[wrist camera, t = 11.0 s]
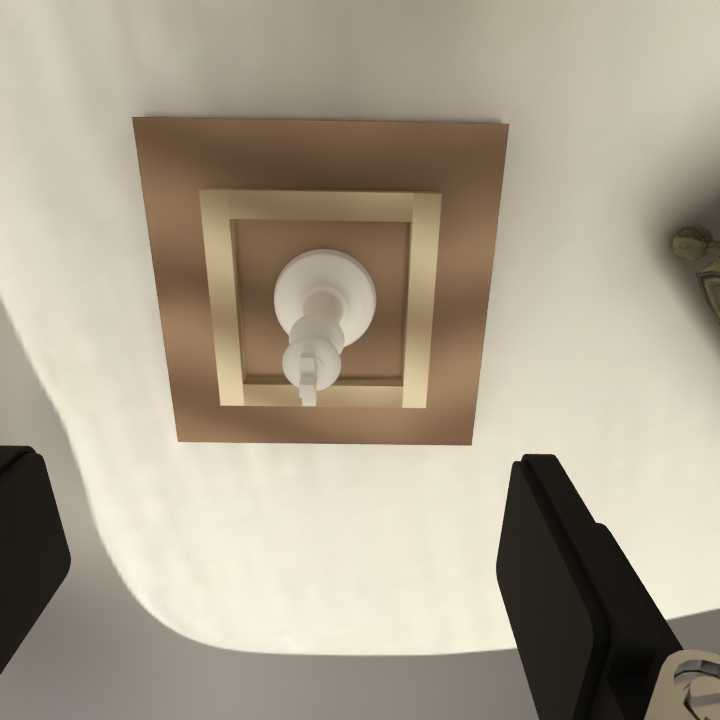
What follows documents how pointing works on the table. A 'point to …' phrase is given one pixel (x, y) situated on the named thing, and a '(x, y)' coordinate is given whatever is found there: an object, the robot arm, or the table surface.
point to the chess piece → (321, 315)
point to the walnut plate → (322, 231)
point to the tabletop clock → (695, 243)
